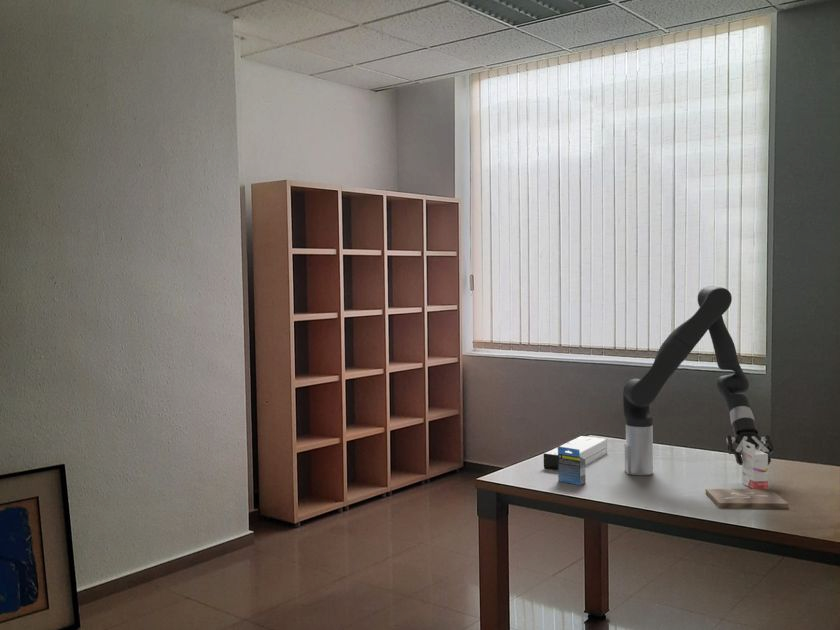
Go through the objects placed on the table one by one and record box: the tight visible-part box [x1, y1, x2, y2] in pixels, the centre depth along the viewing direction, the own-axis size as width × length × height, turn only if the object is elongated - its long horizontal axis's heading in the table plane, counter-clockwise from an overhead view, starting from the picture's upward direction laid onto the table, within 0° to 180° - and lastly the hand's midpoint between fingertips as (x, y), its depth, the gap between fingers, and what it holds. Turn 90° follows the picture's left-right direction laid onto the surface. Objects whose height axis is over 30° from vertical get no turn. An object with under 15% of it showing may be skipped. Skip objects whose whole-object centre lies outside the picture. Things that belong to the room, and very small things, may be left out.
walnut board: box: [705, 488, 789, 509], centre depth 238 cm, size 20×15×2 cm
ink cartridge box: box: [741, 440, 769, 489], centre depth 252 cm, size 9×5×15 cm, turn 5°
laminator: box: [543, 435, 608, 471], centre depth 291 cm, size 34×12×6 cm, turn 145°
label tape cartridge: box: [557, 445, 587, 486], centre depth 262 cm, size 9×4×12 cm, turn 47°
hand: (754, 464), depth 253 cm, fingers open, 8 cm apart
